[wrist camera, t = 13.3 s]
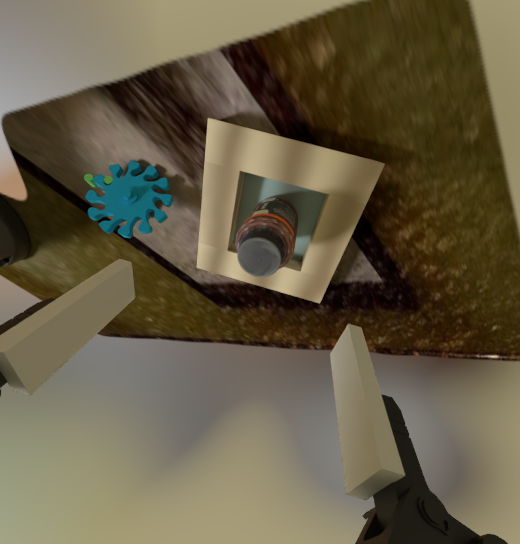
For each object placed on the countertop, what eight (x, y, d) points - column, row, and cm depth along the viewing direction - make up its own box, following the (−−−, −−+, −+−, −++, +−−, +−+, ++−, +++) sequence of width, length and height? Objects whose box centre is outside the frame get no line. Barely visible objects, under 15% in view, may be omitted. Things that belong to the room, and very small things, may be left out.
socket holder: (204, 258, 35) (196, 267, 32) (218, 120, 25) (208, 118, 23) (318, 290, 34) (319, 303, 31) (377, 161, 24) (385, 163, 22)
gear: (186, 183, 28) (134, 249, 25) (196, 207, 33) (154, 262, 31) (112, 139, 28) (54, 200, 26) (134, 170, 34) (88, 222, 32)
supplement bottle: (257, 190, 28) (231, 216, 18) (304, 202, 27) (302, 235, 18) (249, 234, 31) (222, 276, 21) (291, 245, 31) (283, 294, 21)
